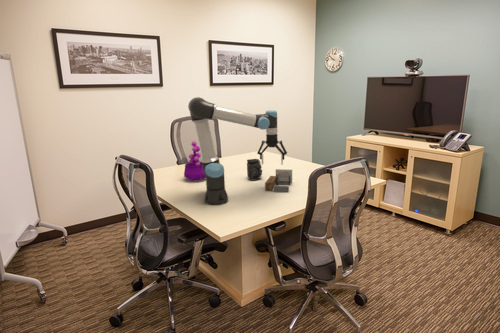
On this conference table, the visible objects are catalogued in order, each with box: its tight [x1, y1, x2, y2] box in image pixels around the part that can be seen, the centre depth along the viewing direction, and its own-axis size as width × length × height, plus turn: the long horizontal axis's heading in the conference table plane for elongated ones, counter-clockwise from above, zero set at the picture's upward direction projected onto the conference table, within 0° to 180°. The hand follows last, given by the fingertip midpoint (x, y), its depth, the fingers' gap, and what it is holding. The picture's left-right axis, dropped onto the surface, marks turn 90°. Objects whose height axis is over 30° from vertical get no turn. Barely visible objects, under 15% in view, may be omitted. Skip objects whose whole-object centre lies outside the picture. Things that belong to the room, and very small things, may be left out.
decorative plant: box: [183, 141, 206, 182], centre depth 252 cm, size 19×18×30 cm
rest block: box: [273, 185, 290, 193], centre depth 224 cm, size 10×4×4 cm, turn 78°
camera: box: [246, 158, 263, 181], centre depth 251 cm, size 10×10×15 cm
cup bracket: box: [275, 168, 293, 186], centre depth 238 cm, size 12×6×10 cm, turn 78°
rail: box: [264, 175, 277, 192], centre depth 233 cm, size 4×16×6 cm, turn 163°
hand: (272, 164), depth 228 cm, fingers open, 13 cm apart
